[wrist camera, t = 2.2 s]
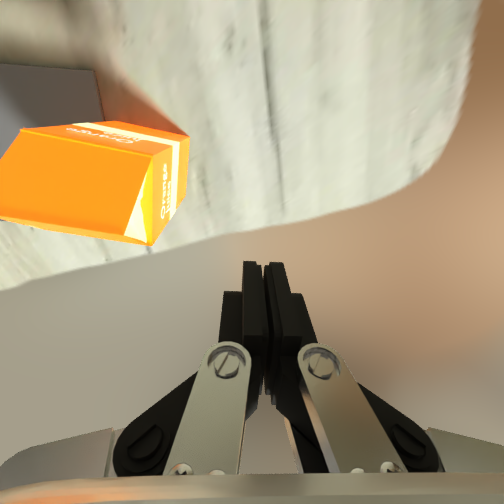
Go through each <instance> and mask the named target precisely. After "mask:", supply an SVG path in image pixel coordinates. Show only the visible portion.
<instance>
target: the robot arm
mask: <svg viewBox="0 0 504 504" xmlns="http://www.w3.org/2000/svg"><path fill="white" fill-rule="evenodd" d="M263 378H264V385H265V394H266V395H271V404H272V405H276V409H277V410H279V412H280V413H281V414H283V415H284V420H285V426H286V429H287V433H288V437H289V441H290V444H291V448H292V452H293V456H294V459H295V463H296V467H297V470H298V474H239V470H240V462H241V455H242V446H243V440H244V432H245V424H246V420H247V419H248V418H249V417H250V416H251V414H252V413H253V412H254V411H255V410H256V409H257V405H258V397H259V395H261V391H262V385H263ZM0 504H504V446H502V445H499V444H495V443H491V442H487V441H483V440H479V439H475V438H471V437H467V436H463V435H459V434H455V433H450V432H446V431H442V430H438V429H434V428H430V427H429V428H428V429H427V430H423V429H422V428H421V427H419V426H418V425H417V424H416V423H415V422H414V421H412V420H411V419H409V418H408V417H406V416H405V415H404V414H402V413H401V412H399V411H398V410H396V409H395V408H393V407H392V406H390V405H389V404H388V403H386V402H385V401H383V400H382V399H381V398H379V397H378V396H376V395H375V394H373V393H372V392H371V391H369V390H368V389H366V388H365V387H363V386H362V385H361V384H359V383H357V382H356V380H355V379H354V377H353V375H352V373H351V372H350V370H349V368H348V367H347V365H346V363H345V362H344V359H343V358H342V357H341V356H340V354H339V353H338V352H336V351H335V350H334V349H333V348H331V347H329V346H327V345H324V344H320V343H318V342H317V339H316V335H315V332H314V329H313V326H312V323H311V320H310V317H309V314H308V311H307V308H306V305H305V301H304V298H303V296H302V294H301V293H291V291H290V287H289V283H288V279H287V276H286V272H285V268H284V264H283V263H282V262H270V263H269V265H265V267H264V276H263V277H262V268H261V265H257V264H256V261H244V262H243V277H242V292H238V291H224V295H223V304H222V313H221V322H220V331H219V341H218V343H217V344H216V345H213V346H211V348H209V349H208V350H207V351H206V353H205V354H204V356H203V359H202V362H201V364H200V368H199V370H198V371H197V372H196V373H195V374H193V375H192V376H191V377H189V378H188V379H187V380H186V381H185V382H183V383H182V384H181V385H179V386H178V387H176V388H175V389H174V390H173V391H171V392H170V393H169V394H167V395H166V396H165V397H163V398H162V399H161V400H160V401H158V402H157V403H156V404H154V405H153V406H152V407H150V408H149V409H148V410H146V411H145V412H144V413H142V415H140V416H139V417H137V418H136V419H135V420H133V421H132V422H131V423H130V424H129V425H128V426H127V427H126V428H124V429H119V430H115V431H114V430H113V428H108V429H104V430H100V431H96V432H91V433H88V434H83V435H79V436H75V437H71V438H66V439H62V440H58V441H54V442H50V443H46V444H42V445H37V446H34V447H30V448H28V449H25V450H23V451H20V452H18V453H17V454H15V455H14V456H12V457H11V458H10V459H8V460H7V461H5V462H4V463H3V464H2V465H1V466H0Z"/></svg>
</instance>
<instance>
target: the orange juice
mask: <svg viewBox="0 0 504 504" xmlns="http://www.w3.org/2000/svg"><path fill="white" fill-rule="evenodd" d="M20 131H21V132H20V133H19V135H18V136H17V138H16V139H15V140H14V142H13V143H12V145H11V146H10V147H9V149H8V150H7V151H6V153H5V154H4V156H3V157H2V158H1V160H0V219H3V220H7V221H11V222H15V223H19V224H23V225H28V226H32V227H36V228H40V229H44V230H50V231H56V232H63V233H69V234H76V235H82V236H89V237H95V238H101V239H108V240H114V241H121V242H127V243H133V244H140V245H146V246H152V245H153V244H154V242H155V241H156V239H157V238H158V236H159V235H160V233H161V232H162V230H163V229H164V227H165V226H166V224H167V223H168V221H169V220H170V219H171V218H172V216H173V214H174V213H175V211H176V209H177V207H178V206H179V204H180V203H181V201H182V200H183V198H184V197H185V195H186V181H187V168H188V154H189V141H190V137H189V136H184V135H179V134H175V133H170V132H165V131H161V130H156V129H152V128H147V127H142V126H138V125H133V124H128V123H124V122H119V121H107V122H96V123H78V124H72V125H62V126H51V127H39V128H28V129H27V128H23V129H20Z"/></svg>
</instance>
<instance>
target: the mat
mask: <svg viewBox="0 0 504 504" xmlns="http://www.w3.org/2000/svg"><path fill="white" fill-rule="evenodd" d="M96 122H105V119H104V114H103V109H102V104H101V99H100V95H99V90H98V85H97V80H96V75H95V71H90V70H77V69H65V68H52V67H40V66H27V65H15V64H2V63H0V160H1V158H2V157H3V156H4V154H5V153H6V151H7V150H8V149H9V147H10V146H11V145H12V143H13V142H14V140H15V139H16V138H17V136H18V135H19V133H20V132H21V131H20V129H23V128H27V129H28V128H39V127H51V126H62V125H72V124H78V123H96ZM0 221H7V220H3V219H0Z"/></svg>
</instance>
